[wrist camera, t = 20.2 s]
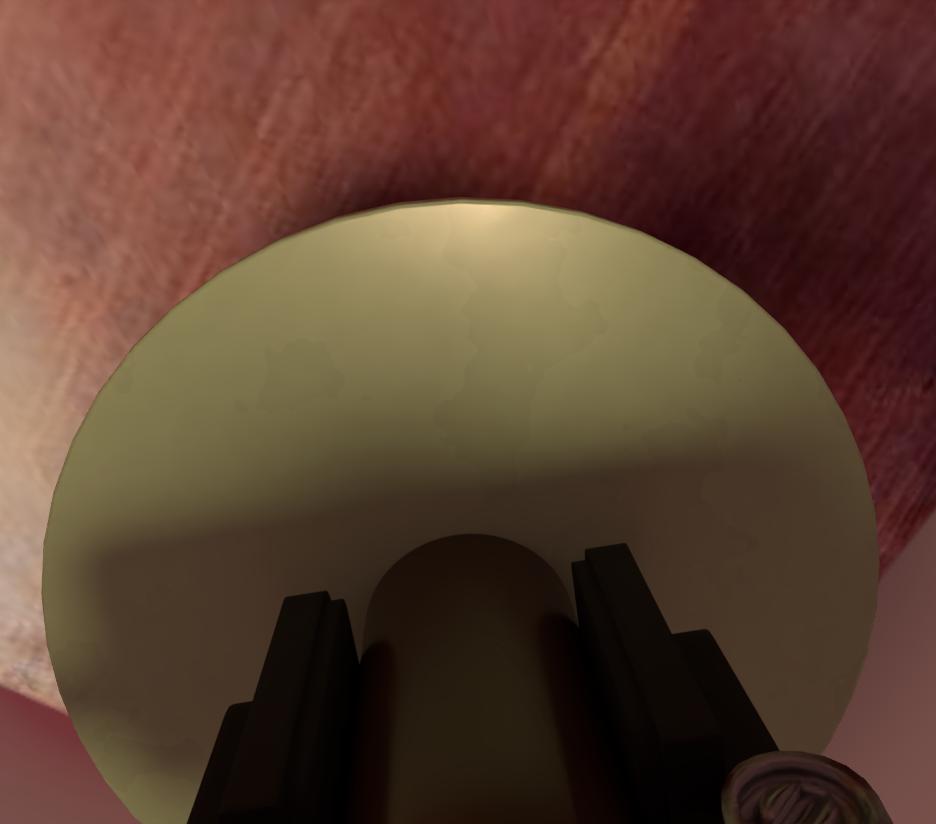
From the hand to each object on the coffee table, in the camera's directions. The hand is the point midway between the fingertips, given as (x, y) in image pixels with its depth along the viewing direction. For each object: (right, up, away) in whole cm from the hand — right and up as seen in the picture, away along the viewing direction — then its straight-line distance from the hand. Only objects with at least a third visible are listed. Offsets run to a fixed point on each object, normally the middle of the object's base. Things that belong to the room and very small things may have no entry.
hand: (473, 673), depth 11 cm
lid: (0, 0, +2) cm, 2 cm away
